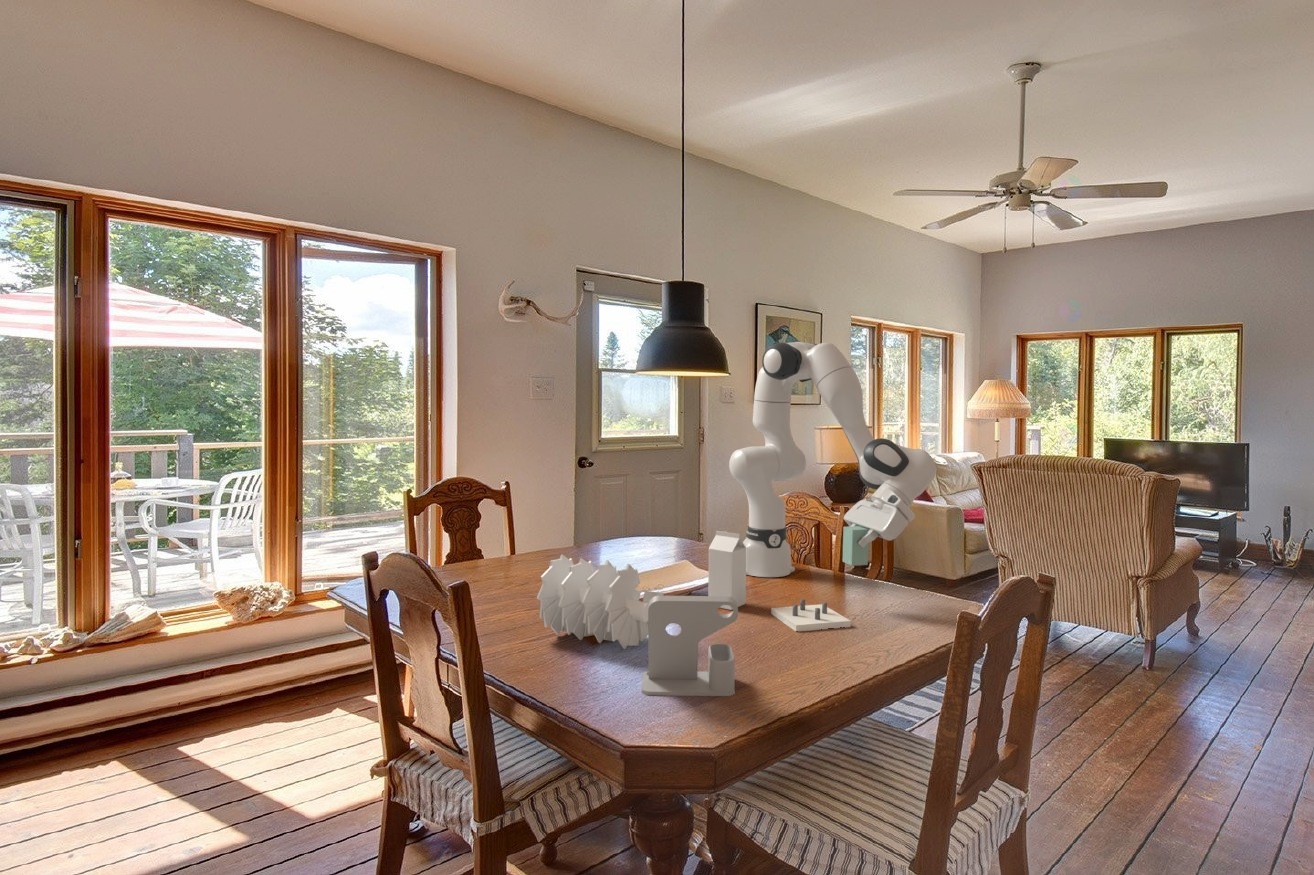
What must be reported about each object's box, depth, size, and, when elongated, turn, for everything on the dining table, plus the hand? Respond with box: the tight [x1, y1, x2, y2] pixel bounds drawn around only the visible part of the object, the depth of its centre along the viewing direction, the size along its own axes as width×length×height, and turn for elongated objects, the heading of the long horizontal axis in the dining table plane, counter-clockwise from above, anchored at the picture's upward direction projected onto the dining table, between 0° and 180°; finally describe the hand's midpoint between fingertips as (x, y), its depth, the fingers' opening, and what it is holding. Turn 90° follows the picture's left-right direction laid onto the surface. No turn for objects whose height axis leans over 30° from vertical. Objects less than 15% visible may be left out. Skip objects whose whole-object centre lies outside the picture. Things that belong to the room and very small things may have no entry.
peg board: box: [770, 598, 852, 632], centre depth 176 cm, size 14×14×4 cm
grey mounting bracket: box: [641, 595, 739, 697], centre depth 136 cm, size 17×10×18 cm, turn 89°
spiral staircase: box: [536, 553, 664, 650], centre depth 161 cm, size 18×18×25 cm
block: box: [842, 525, 869, 567], centre depth 184 cm, size 4×4×9 cm
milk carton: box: [707, 530, 747, 611], centre depth 188 cm, size 7×7×19 cm
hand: (853, 542), depth 184 cm, fingers closed on block, 4 cm apart
